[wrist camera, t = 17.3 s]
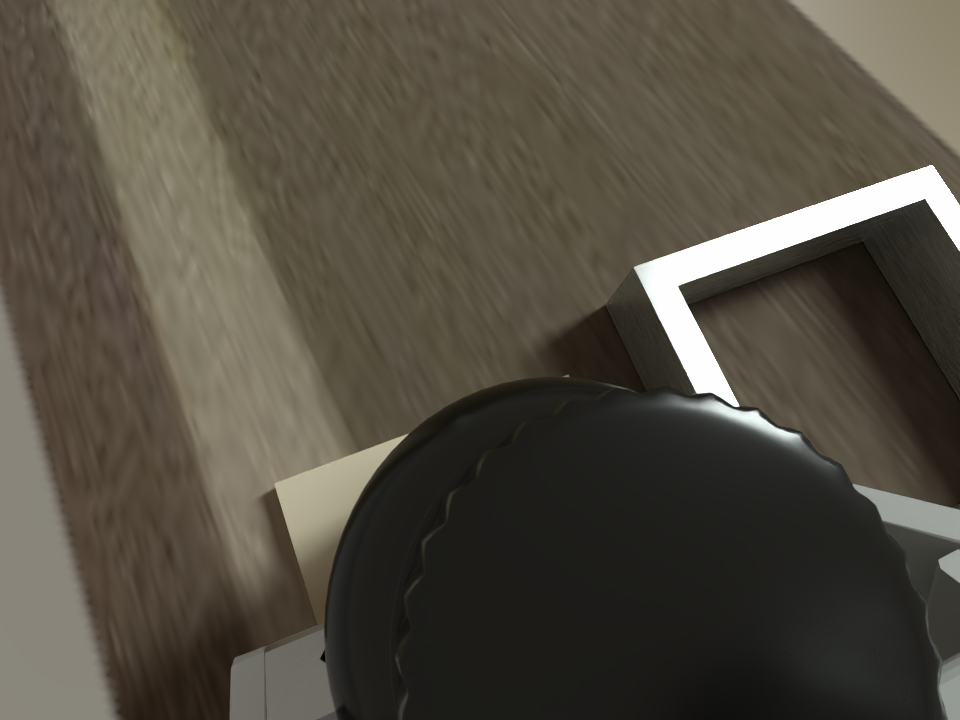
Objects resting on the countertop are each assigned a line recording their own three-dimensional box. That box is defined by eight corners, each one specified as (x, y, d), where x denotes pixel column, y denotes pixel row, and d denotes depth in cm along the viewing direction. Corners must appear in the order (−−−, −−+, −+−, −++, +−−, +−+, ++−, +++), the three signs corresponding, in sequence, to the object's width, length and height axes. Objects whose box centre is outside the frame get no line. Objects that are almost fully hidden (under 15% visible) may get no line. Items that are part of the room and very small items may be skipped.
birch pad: (695, 674, 18) (704, 678, 17) (384, 830, 16) (382, 840, 16) (564, 379, 20) (568, 374, 20) (278, 485, 18) (274, 483, 18)
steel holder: (1048, 496, 21) (1148, 488, 18) (764, 638, 18) (827, 654, 16) (870, 212, 24) (932, 165, 21) (605, 305, 21) (633, 266, 18)
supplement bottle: (313, 642, 16) (43, 911, 4) (437, 408, 18) (485, 155, 6) (556, 771, 15) (987, 1441, 4) (653, 518, 17) (1116, 465, 6)
